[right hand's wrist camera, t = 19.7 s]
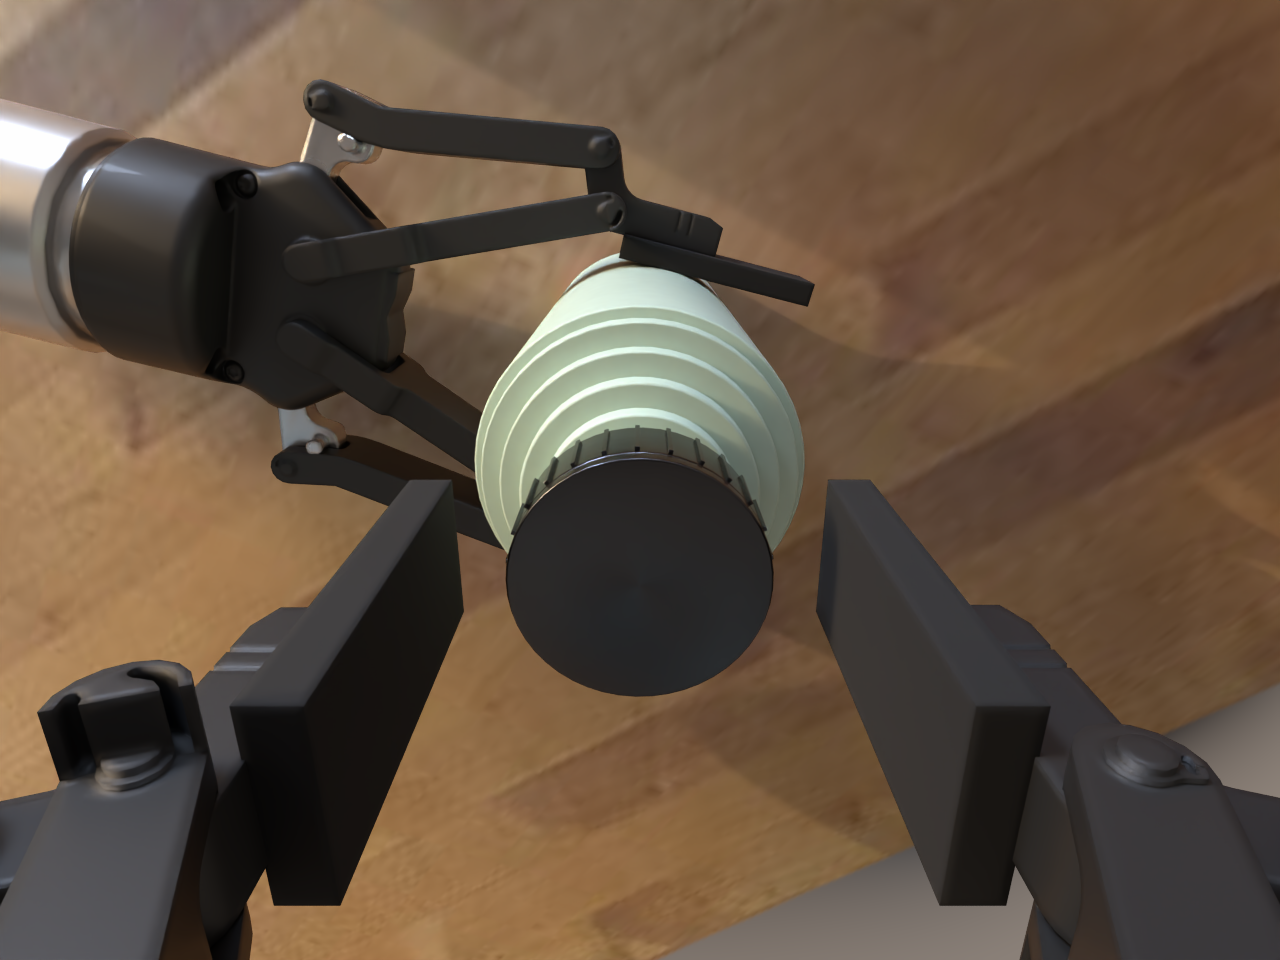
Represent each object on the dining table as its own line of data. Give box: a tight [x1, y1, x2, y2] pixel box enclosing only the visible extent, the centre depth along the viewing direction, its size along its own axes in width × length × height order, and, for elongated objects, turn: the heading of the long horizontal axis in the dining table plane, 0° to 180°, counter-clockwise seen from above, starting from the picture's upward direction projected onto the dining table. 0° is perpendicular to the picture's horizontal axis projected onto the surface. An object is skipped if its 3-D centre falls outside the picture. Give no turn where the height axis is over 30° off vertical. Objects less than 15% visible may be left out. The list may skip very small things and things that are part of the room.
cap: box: [506, 425, 774, 697], centre depth 14 cm, size 5×5×2 cm
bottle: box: [475, 253, 805, 554], centre depth 24 cm, size 8×8×22 cm
